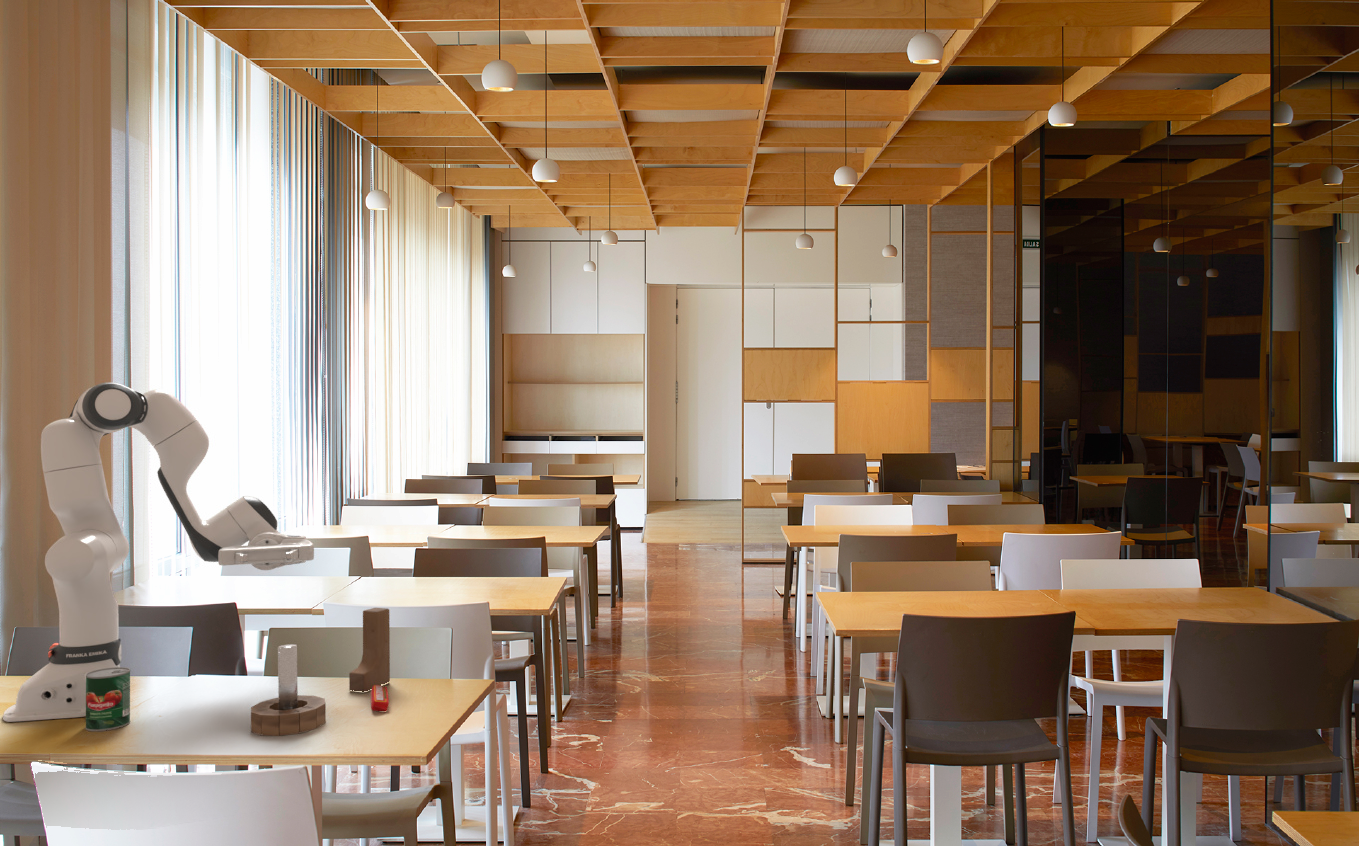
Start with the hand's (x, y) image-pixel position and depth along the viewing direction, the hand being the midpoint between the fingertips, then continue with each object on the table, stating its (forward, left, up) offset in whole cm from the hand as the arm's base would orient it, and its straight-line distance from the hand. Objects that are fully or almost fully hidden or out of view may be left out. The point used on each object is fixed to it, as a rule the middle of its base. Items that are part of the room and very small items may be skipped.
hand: (267, 557), depth 207 cm
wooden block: (+22, +1, -32) cm, 39 cm away
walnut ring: (+4, -21, -32) cm, 39 cm away
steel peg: (+4, -21, -32) cm, 38 cm away
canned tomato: (-30, -5, -32) cm, 44 cm away
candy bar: (+23, -14, -33) cm, 42 cm away
